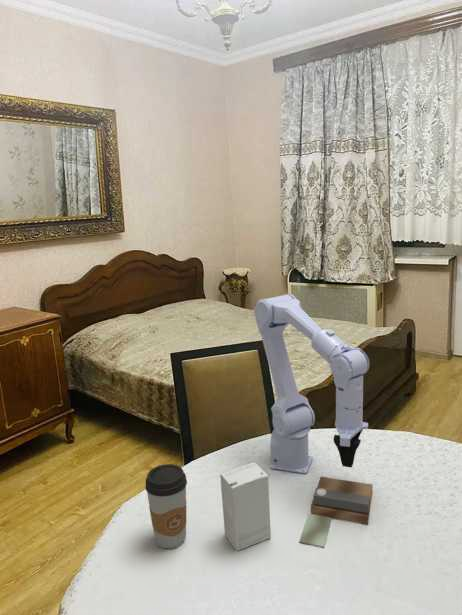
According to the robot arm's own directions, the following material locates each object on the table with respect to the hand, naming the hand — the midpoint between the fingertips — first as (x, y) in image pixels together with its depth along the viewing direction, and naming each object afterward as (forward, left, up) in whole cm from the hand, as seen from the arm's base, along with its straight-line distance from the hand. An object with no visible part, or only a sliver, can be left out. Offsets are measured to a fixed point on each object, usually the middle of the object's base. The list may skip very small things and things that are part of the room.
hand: (348, 460), depth 110 cm
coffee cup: (-33, -24, -10) cm, 42 cm away
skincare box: (-18, -20, -10) cm, 28 cm away
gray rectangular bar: (-1, -7, -7) cm, 10 cm away
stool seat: (-1, -7, -9) cm, 12 cm away
